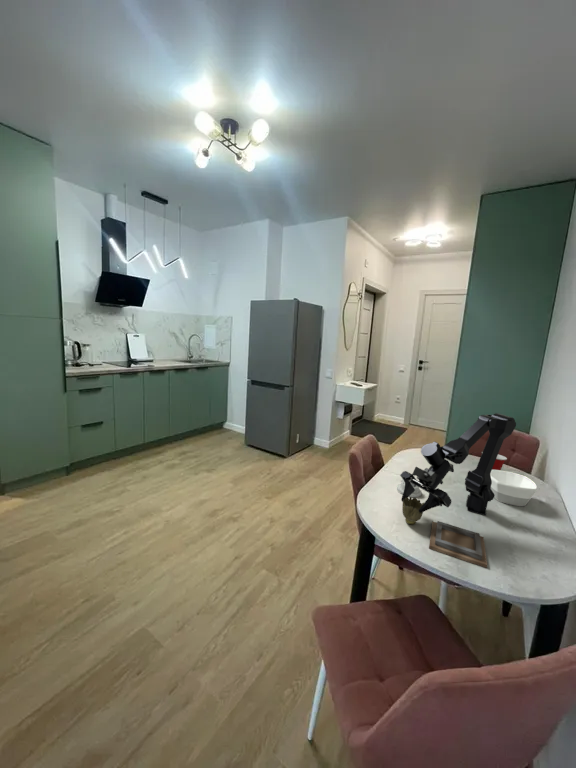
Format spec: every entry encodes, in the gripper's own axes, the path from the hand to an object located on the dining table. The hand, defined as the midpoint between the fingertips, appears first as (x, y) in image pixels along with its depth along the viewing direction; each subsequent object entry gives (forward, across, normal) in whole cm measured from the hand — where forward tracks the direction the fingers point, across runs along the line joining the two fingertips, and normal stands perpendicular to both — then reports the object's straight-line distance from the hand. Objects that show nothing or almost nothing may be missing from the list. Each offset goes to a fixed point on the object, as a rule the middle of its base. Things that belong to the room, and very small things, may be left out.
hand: (410, 506), depth 118 cm
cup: (+4, 0, +6) cm, 7 cm away
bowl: (-37, +2, +47) cm, 60 cm away
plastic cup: (-48, -14, +57) cm, 76 cm away
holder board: (0, +15, +9) cm, 17 cm away
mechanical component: (-9, -18, +19) cm, 28 cm away
